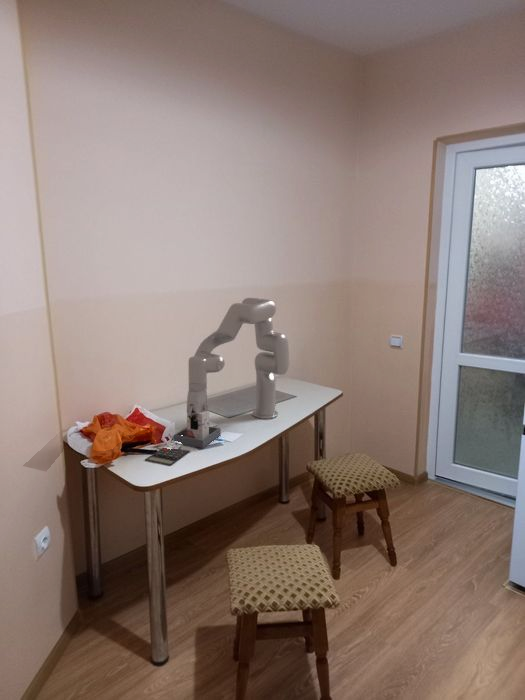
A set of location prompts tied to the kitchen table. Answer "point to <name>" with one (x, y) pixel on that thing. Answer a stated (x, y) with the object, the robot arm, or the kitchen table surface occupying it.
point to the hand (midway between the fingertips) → (197, 426)
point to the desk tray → (195, 442)
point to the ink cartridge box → (199, 424)
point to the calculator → (167, 456)
